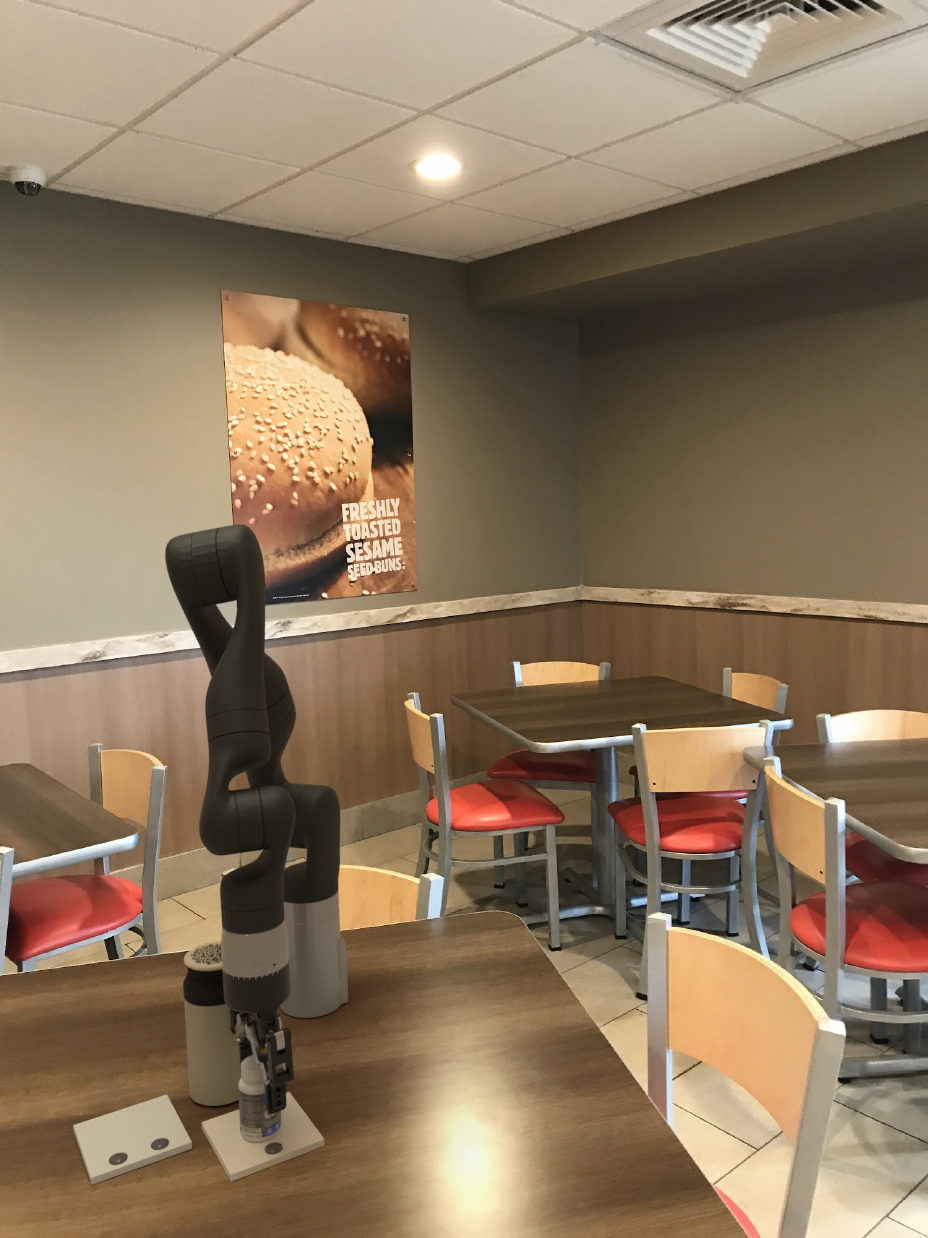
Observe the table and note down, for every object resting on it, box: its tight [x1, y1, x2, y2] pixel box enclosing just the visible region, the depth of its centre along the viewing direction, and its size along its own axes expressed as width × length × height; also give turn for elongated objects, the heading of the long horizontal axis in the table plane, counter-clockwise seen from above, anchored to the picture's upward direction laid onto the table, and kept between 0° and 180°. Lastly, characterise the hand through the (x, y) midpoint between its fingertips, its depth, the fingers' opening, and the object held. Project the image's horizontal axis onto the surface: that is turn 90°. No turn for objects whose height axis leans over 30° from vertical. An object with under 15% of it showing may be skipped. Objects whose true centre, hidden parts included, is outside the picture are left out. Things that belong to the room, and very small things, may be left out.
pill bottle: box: [238, 1052, 281, 1142], centre depth 112 cm, size 5×5×8 cm
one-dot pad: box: [201, 1091, 325, 1183], centre depth 112 cm, size 11×11×1 cm
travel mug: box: [182, 940, 241, 1107], centre depth 121 cm, size 8×8×18 cm
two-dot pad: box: [72, 1094, 193, 1186], centre depth 112 cm, size 11×11×1 cm
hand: (263, 1092), depth 112 cm, fingers open, 8 cm apart
